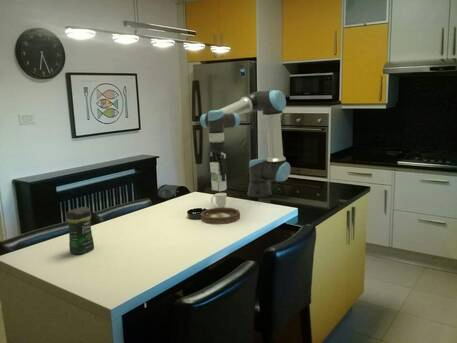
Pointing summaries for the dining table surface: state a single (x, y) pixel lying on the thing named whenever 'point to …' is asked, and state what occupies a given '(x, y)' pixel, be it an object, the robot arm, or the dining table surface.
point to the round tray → (220, 215)
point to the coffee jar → (80, 230)
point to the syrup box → (216, 177)
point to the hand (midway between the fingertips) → (218, 186)
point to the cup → (220, 200)
